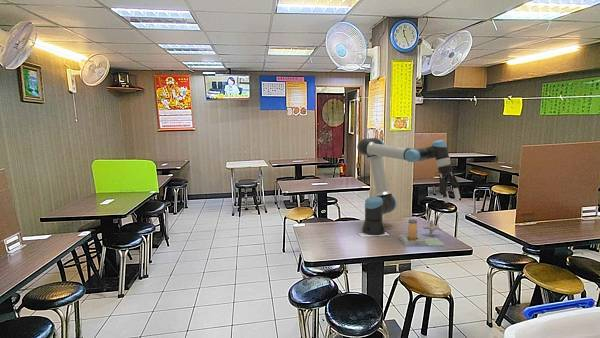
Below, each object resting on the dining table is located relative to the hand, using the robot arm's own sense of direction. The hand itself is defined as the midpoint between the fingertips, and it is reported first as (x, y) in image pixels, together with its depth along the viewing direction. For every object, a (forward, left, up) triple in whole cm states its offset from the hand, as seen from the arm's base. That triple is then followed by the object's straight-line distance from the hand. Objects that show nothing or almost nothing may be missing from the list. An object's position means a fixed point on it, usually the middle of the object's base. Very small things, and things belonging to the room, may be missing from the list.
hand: (452, 200), depth 186 cm
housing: (-4, -22, -27) cm, 35 cm away
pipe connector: (-17, -6, -27) cm, 32 cm away
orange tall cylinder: (-4, -22, -27) cm, 35 cm away
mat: (-3, -10, -27) cm, 29 cm away
